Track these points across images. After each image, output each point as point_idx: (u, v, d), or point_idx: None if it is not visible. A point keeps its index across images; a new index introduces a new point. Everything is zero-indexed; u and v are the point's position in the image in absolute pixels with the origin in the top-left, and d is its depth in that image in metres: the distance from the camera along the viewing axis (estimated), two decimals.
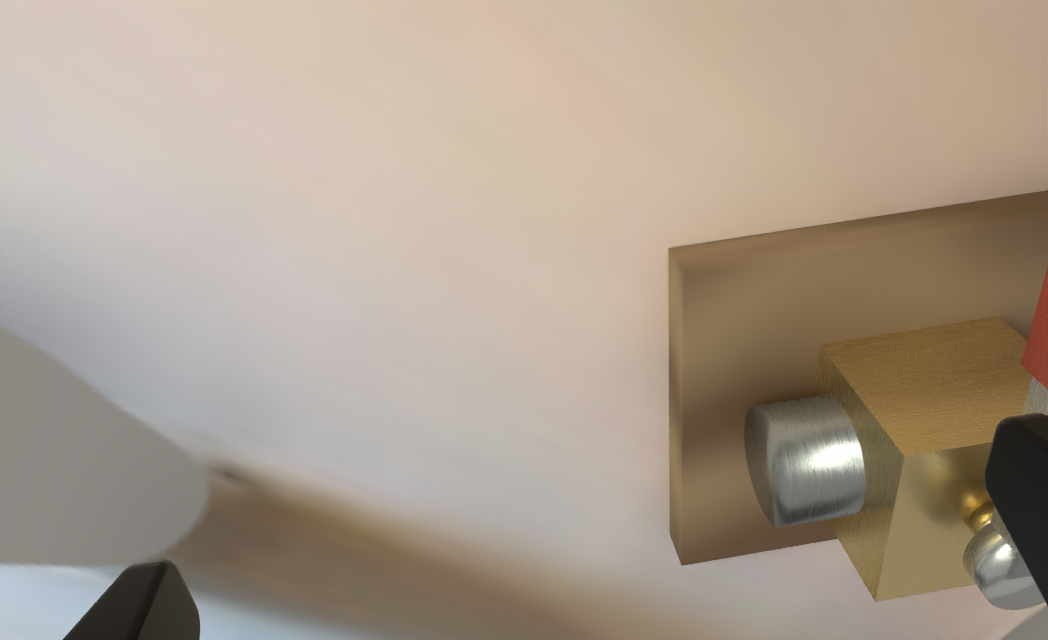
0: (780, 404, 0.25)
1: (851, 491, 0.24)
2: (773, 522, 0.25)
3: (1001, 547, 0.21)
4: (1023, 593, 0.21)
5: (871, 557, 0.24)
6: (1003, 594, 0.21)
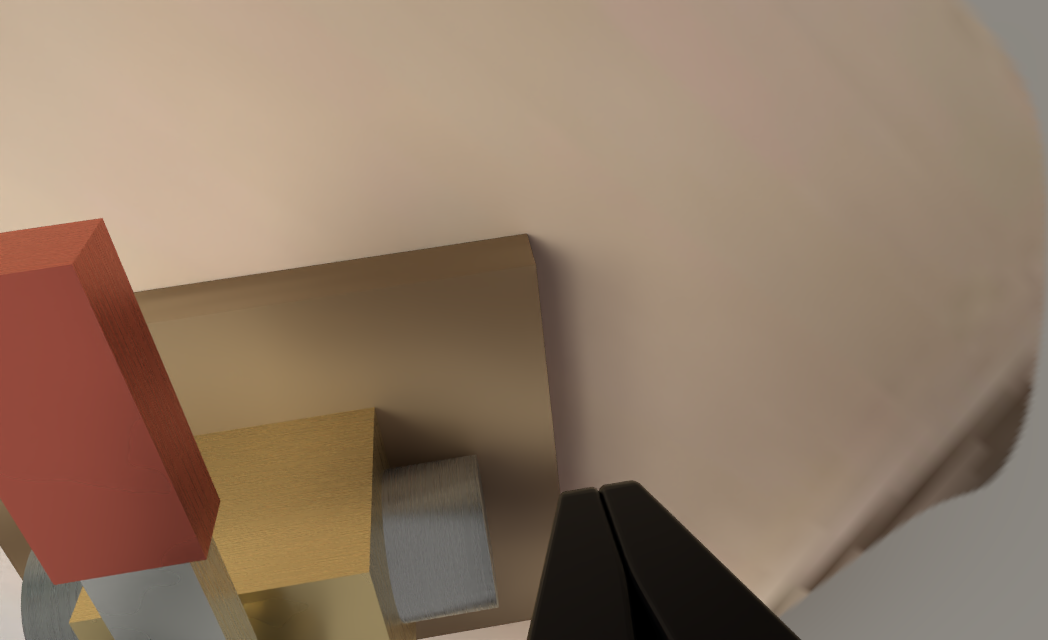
0: None
1: None
2: None
3: None
4: None
5: None
6: None
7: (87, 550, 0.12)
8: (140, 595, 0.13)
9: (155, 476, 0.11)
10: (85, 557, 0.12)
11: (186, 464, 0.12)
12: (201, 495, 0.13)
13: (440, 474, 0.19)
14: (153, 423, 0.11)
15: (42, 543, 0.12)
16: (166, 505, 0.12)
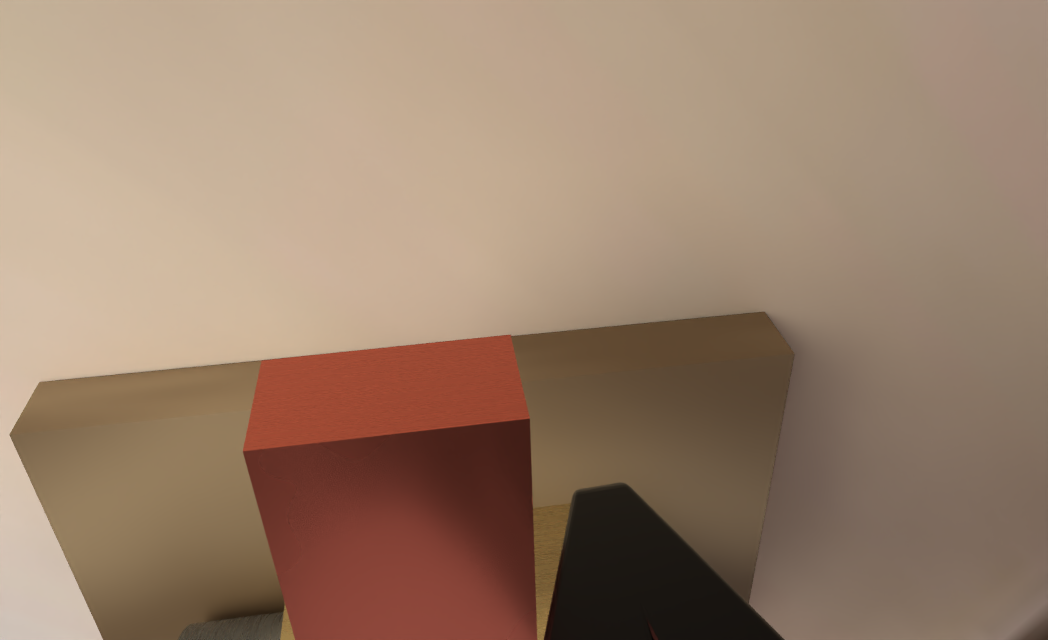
0: (216, 629, 0.16)
1: None
2: None
3: None
4: None
5: None
6: None
7: None
8: None
9: None
10: None
11: None
12: None
13: None
14: None
15: None
16: None
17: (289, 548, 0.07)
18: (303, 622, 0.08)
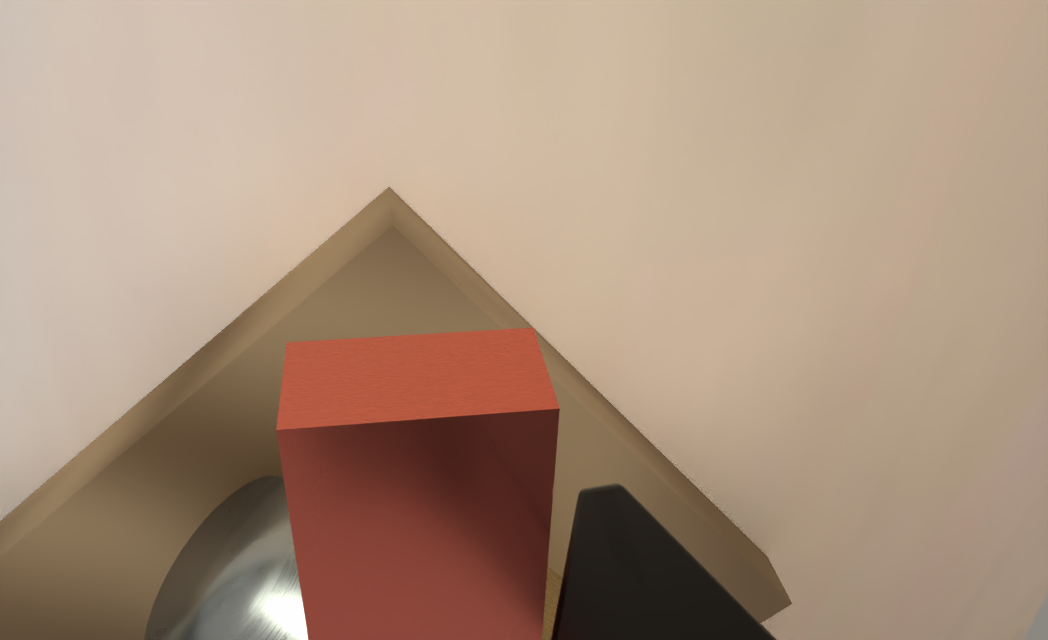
0: None
1: None
2: None
3: None
4: None
5: None
6: None
7: None
8: None
9: None
10: None
11: None
12: None
13: None
14: None
15: None
16: None
17: (311, 529, 0.07)
18: (316, 605, 0.08)
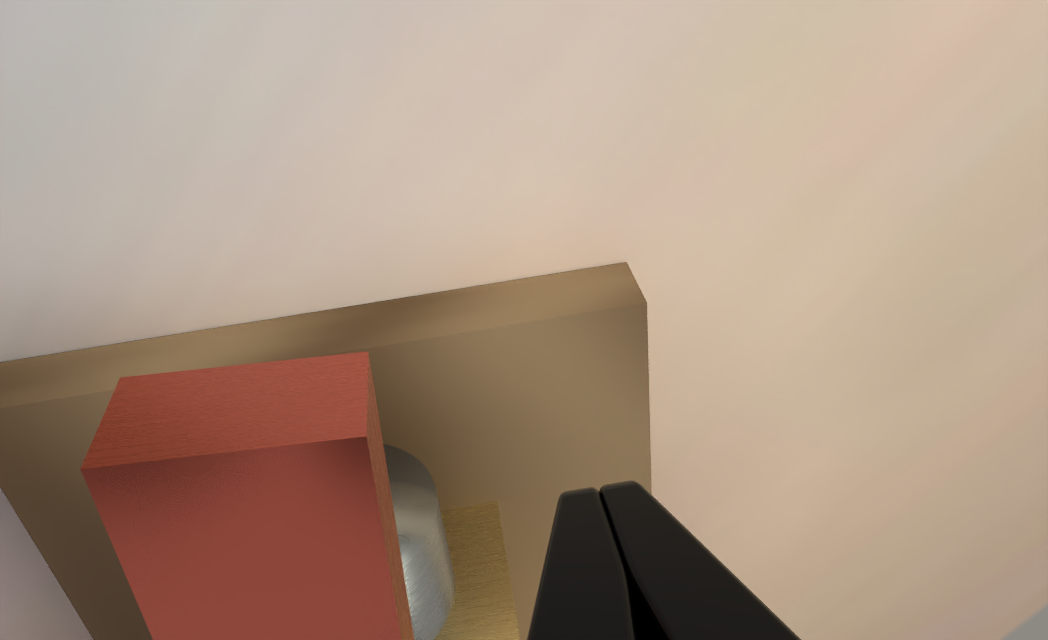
0: None
1: None
2: None
3: None
4: None
5: None
6: None
7: None
8: None
9: None
10: None
11: None
12: None
13: None
14: (400, 619, 0.08)
15: None
16: None
17: (140, 562, 0.07)
18: (164, 633, 0.08)
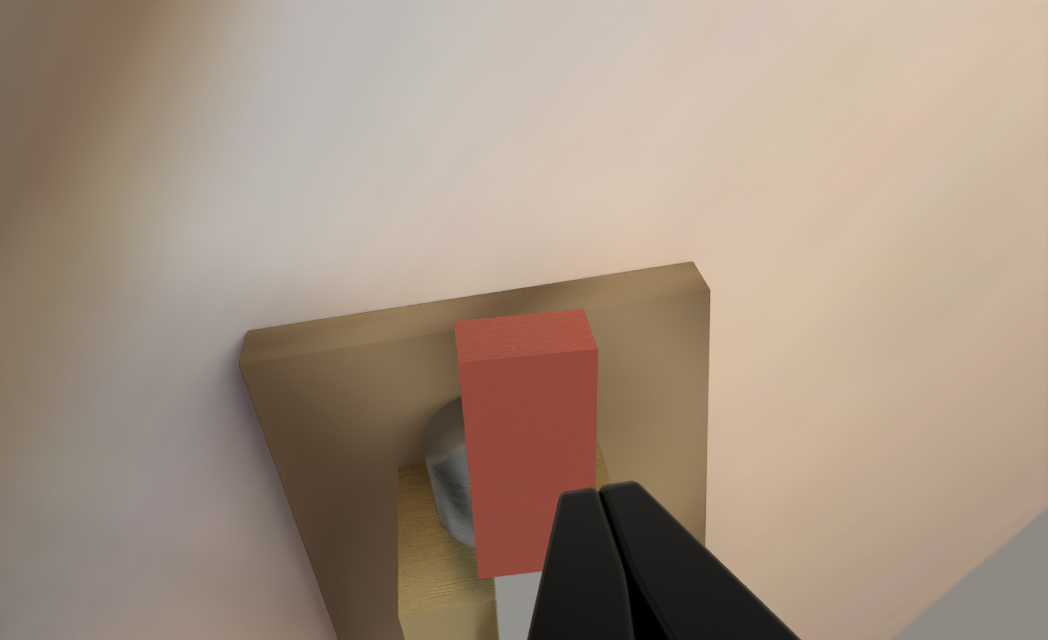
0: None
1: None
2: (437, 467, 0.20)
3: None
4: None
5: (450, 587, 0.20)
6: None
7: (514, 553, 0.16)
8: (532, 589, 0.16)
9: None
10: (506, 558, 0.16)
11: None
12: None
13: None
14: None
15: (486, 547, 0.15)
16: None
17: (473, 416, 0.14)
18: (474, 460, 0.14)
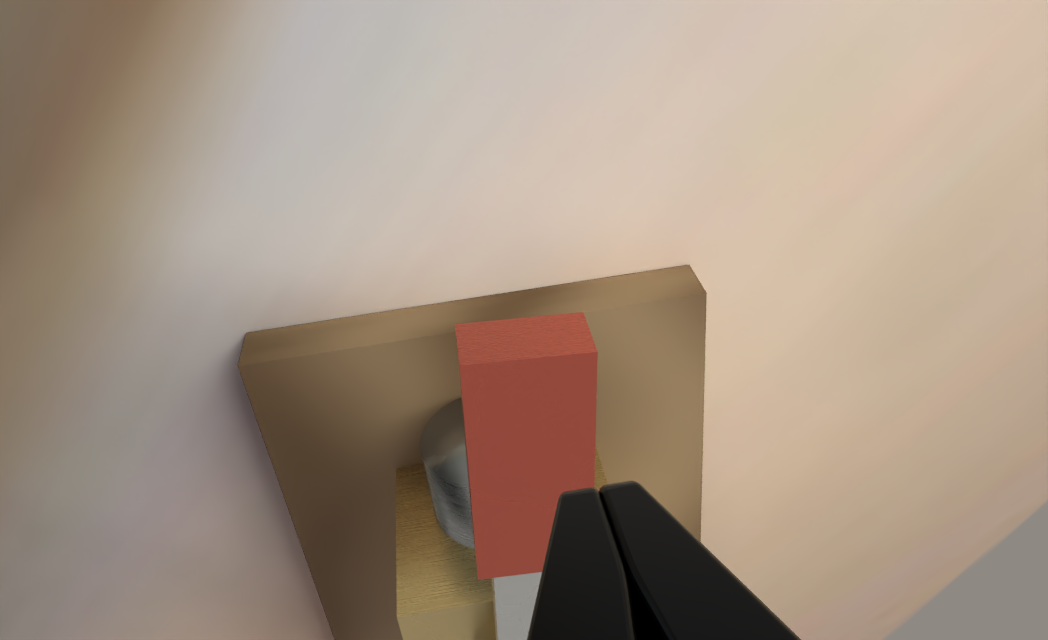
0: None
1: None
2: (435, 468, 0.20)
3: None
4: None
5: (448, 588, 0.20)
6: None
7: (513, 554, 0.16)
8: (531, 590, 0.16)
9: None
10: (505, 559, 0.16)
11: None
12: None
13: None
14: None
15: (485, 547, 0.16)
16: None
17: (473, 418, 0.14)
18: (474, 461, 0.14)
